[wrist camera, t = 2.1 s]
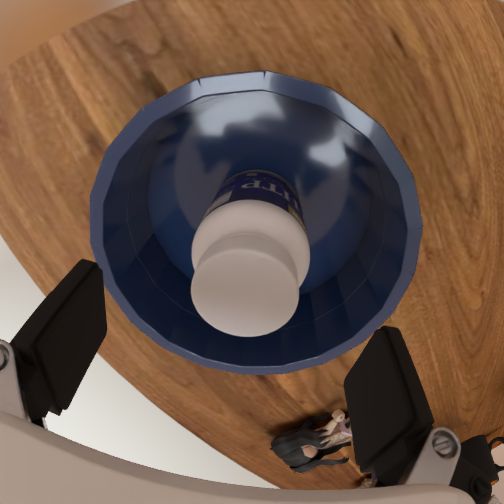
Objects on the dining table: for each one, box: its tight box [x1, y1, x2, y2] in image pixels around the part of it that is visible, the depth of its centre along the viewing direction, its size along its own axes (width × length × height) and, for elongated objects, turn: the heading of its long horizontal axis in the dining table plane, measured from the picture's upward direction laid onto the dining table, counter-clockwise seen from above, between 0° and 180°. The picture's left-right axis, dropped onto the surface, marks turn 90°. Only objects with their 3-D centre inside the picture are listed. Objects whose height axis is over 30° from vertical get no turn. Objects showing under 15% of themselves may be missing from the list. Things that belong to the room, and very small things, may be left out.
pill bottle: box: [191, 170, 310, 337], centre depth 15 cm, size 5×5×9 cm
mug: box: [460, 435, 504, 485], centre depth 33 cm, size 8×12×10 cm
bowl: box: [90, 70, 423, 375], centre depth 16 cm, size 16×16×6 cm
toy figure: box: [270, 409, 352, 475], centre depth 28 cm, size 7×6×15 cm
